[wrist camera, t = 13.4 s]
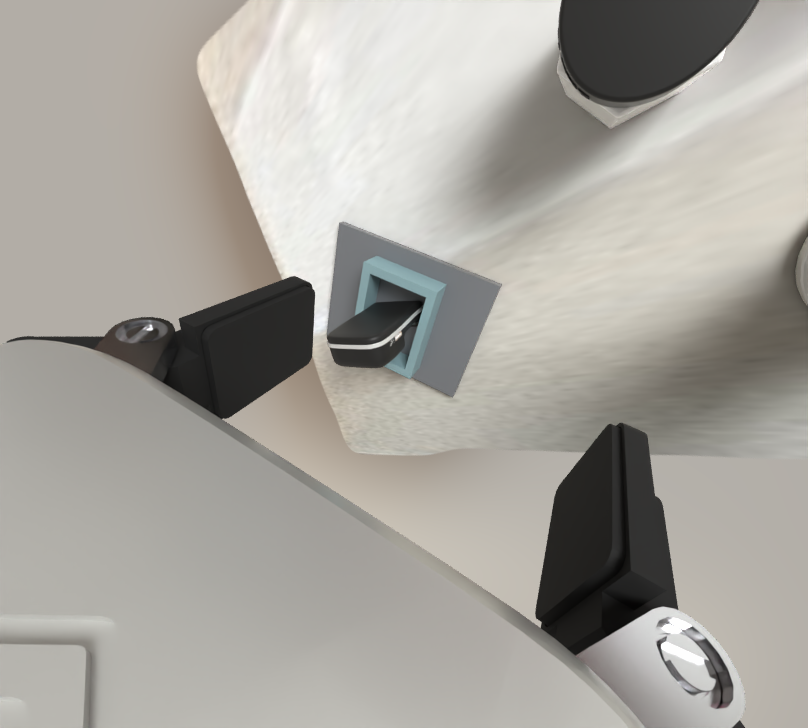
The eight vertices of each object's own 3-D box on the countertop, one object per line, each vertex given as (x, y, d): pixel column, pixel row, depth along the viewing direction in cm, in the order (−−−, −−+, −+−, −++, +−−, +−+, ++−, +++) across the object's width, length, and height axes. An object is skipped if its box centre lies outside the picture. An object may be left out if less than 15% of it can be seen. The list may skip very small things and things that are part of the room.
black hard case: (380, 329, 45) (328, 371, 36) (373, 301, 43) (317, 338, 34) (429, 329, 42) (385, 375, 33) (424, 299, 40) (377, 339, 31)
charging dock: (501, 284, 36) (494, 295, 33) (454, 394, 46) (445, 410, 43) (343, 221, 41) (323, 226, 38) (330, 333, 50) (313, 344, 47)
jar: (588, -28, 24) (586, -148, 14) (734, -50, 21) (849, -216, 12) (555, 128, 28) (538, 114, 19) (671, 128, 26) (717, 111, 16)
